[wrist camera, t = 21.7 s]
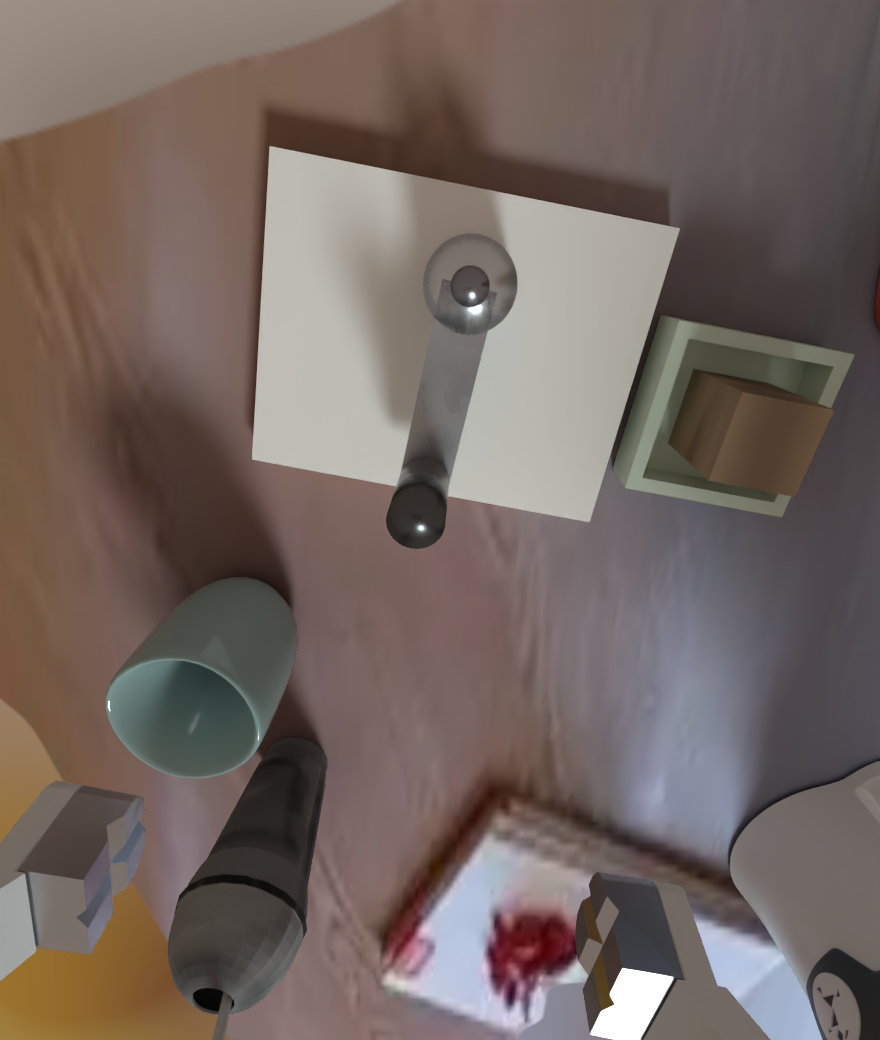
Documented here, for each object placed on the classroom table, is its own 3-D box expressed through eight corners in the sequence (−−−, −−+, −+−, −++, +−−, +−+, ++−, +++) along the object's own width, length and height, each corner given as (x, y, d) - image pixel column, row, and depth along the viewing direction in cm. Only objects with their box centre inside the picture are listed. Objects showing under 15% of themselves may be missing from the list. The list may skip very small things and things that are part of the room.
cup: (331, 640, 39) (289, 755, 30) (231, 676, 41) (162, 796, 32) (272, 541, 37) (206, 634, 27) (167, 583, 38) (71, 685, 29)
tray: (820, 346, 31) (854, 354, 28) (756, 496, 34) (782, 517, 31) (660, 314, 30) (679, 320, 28) (612, 469, 34) (624, 487, 31)
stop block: (769, 383, 31) (834, 409, 25) (740, 457, 32) (795, 496, 27) (693, 368, 31) (742, 392, 25) (667, 443, 32) (708, 480, 27)
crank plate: (670, 230, 29) (680, 228, 27) (584, 512, 35) (589, 522, 33) (279, 151, 28) (268, 145, 27) (260, 451, 34) (251, 459, 33)
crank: (438, 226, 28) (426, 213, 20) (522, 248, 28) (542, 243, 20) (388, 471, 32) (362, 536, 25) (460, 488, 33) (456, 558, 25)
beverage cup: (250, 712, 42) (79, 1063, 24) (352, 732, 42) (262, 1093, 24) (244, 787, 45) (87, 1151, 27) (339, 805, 45) (250, 1177, 27)
